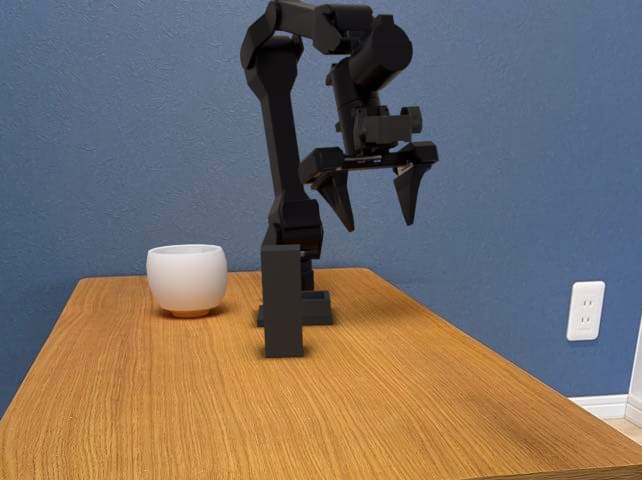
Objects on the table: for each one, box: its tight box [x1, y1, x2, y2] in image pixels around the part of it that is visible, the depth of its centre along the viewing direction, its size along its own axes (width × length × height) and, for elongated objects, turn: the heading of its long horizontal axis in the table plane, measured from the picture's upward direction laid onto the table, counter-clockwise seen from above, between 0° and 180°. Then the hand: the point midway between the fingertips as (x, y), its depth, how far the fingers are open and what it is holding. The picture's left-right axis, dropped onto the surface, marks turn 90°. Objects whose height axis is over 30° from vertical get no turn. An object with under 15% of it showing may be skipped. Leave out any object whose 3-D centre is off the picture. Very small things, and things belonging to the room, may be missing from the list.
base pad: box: [256, 289, 333, 327], centre depth 129 cm, size 11×11×4 cm
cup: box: [145, 243, 229, 319], centre depth 132 cm, size 12×12×10 cm
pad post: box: [259, 244, 304, 359], centre depth 108 cm, size 5×5×13 cm
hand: (381, 228), depth 114 cm, fingers open, 9 cm apart
